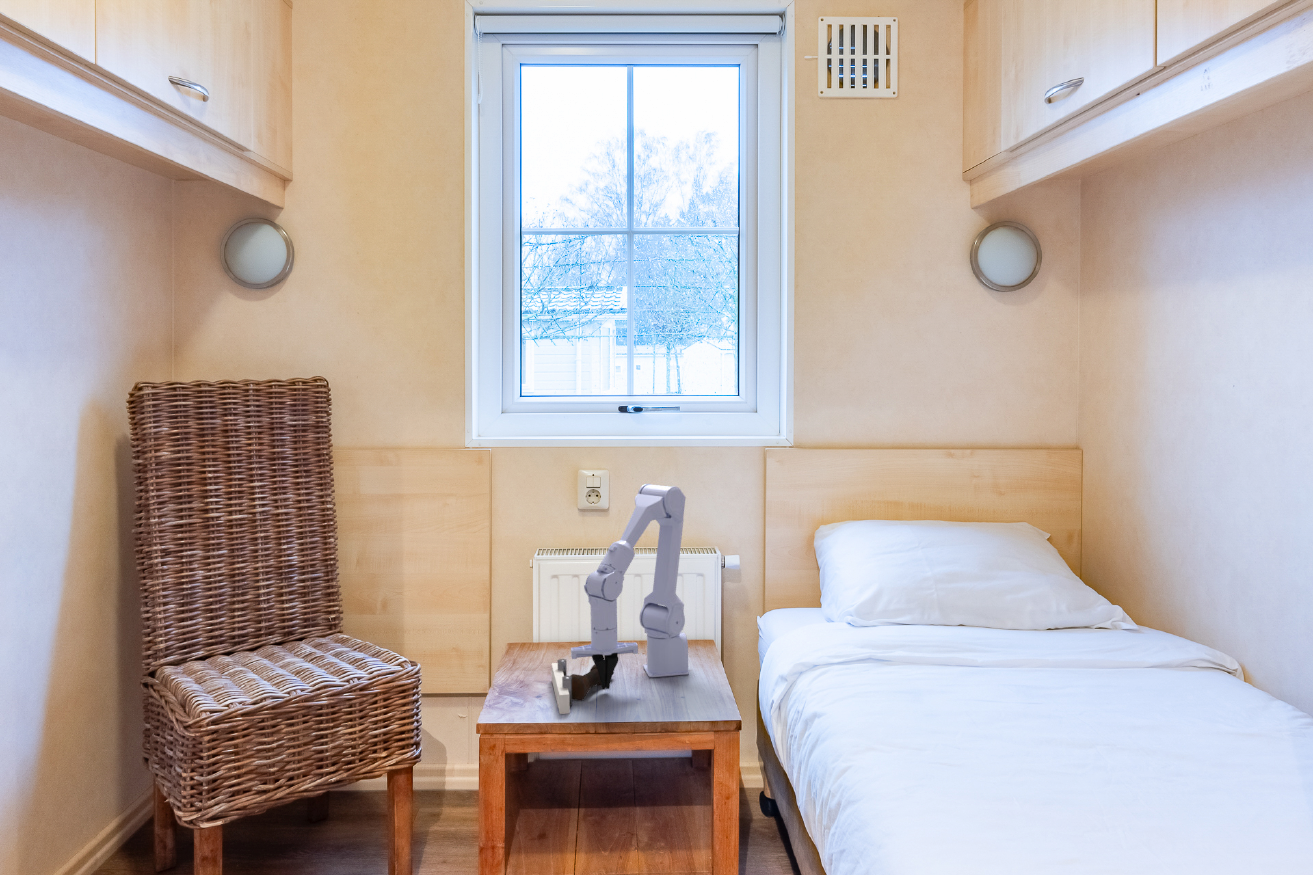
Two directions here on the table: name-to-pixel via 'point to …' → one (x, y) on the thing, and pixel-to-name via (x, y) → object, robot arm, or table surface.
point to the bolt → (584, 683)
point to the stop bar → (562, 686)
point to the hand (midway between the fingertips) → (605, 687)
